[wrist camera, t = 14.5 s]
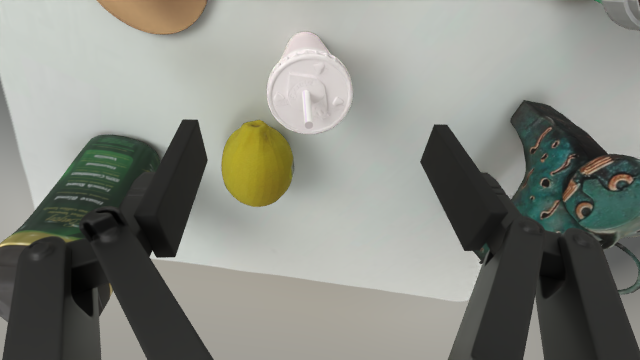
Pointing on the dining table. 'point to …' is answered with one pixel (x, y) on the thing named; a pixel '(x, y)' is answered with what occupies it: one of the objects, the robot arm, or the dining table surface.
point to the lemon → (257, 164)
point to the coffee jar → (78, 202)
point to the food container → (623, 12)
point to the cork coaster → (156, 14)
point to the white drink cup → (309, 87)
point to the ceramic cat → (575, 181)
